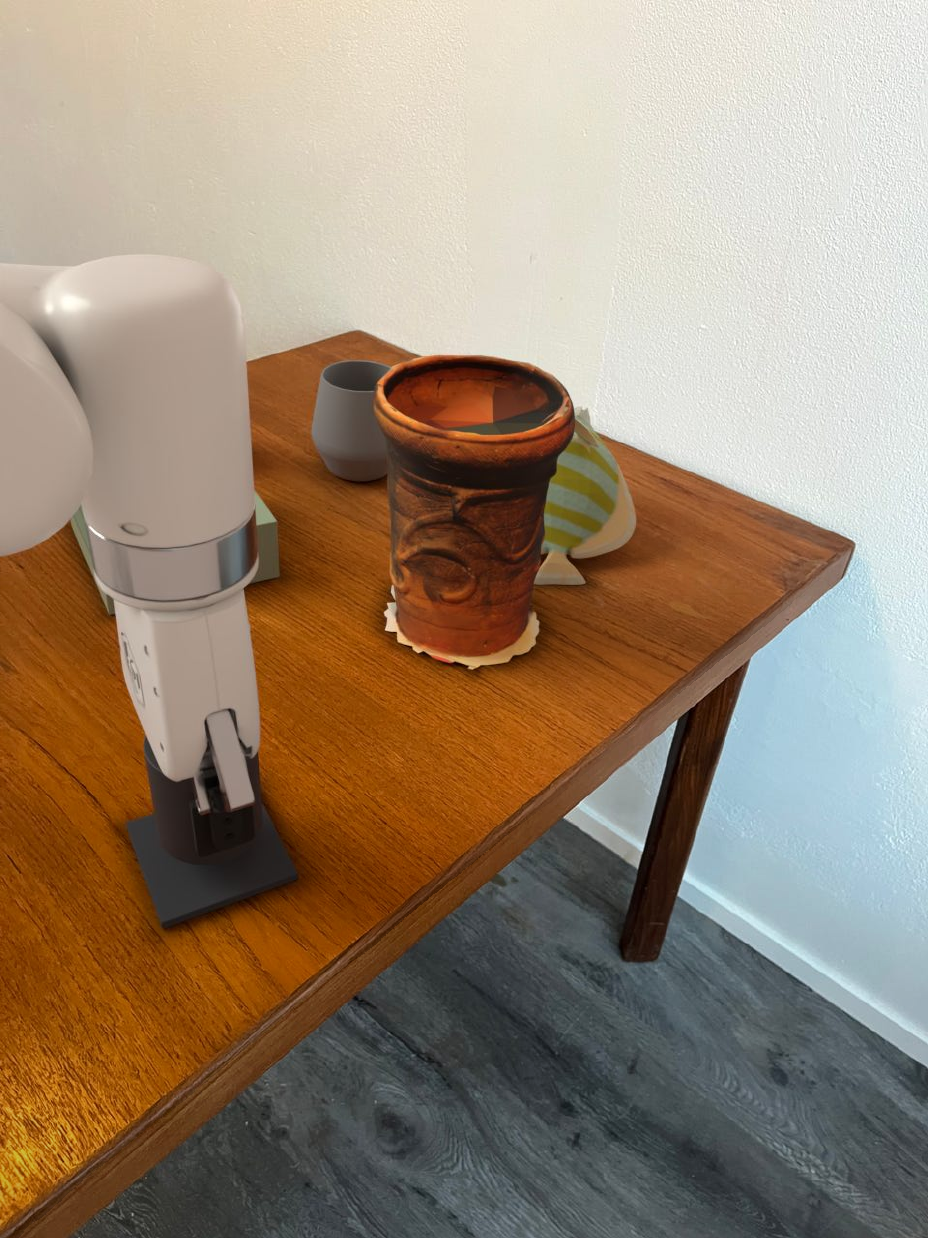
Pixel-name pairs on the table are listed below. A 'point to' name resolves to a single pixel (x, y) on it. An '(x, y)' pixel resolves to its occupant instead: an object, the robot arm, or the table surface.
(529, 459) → the vessel
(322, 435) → the cup
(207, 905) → the pad
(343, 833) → the table surface
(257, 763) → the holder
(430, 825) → the table surface
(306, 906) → the table surface
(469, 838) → the table surface
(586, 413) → the decorative fish sculpture
